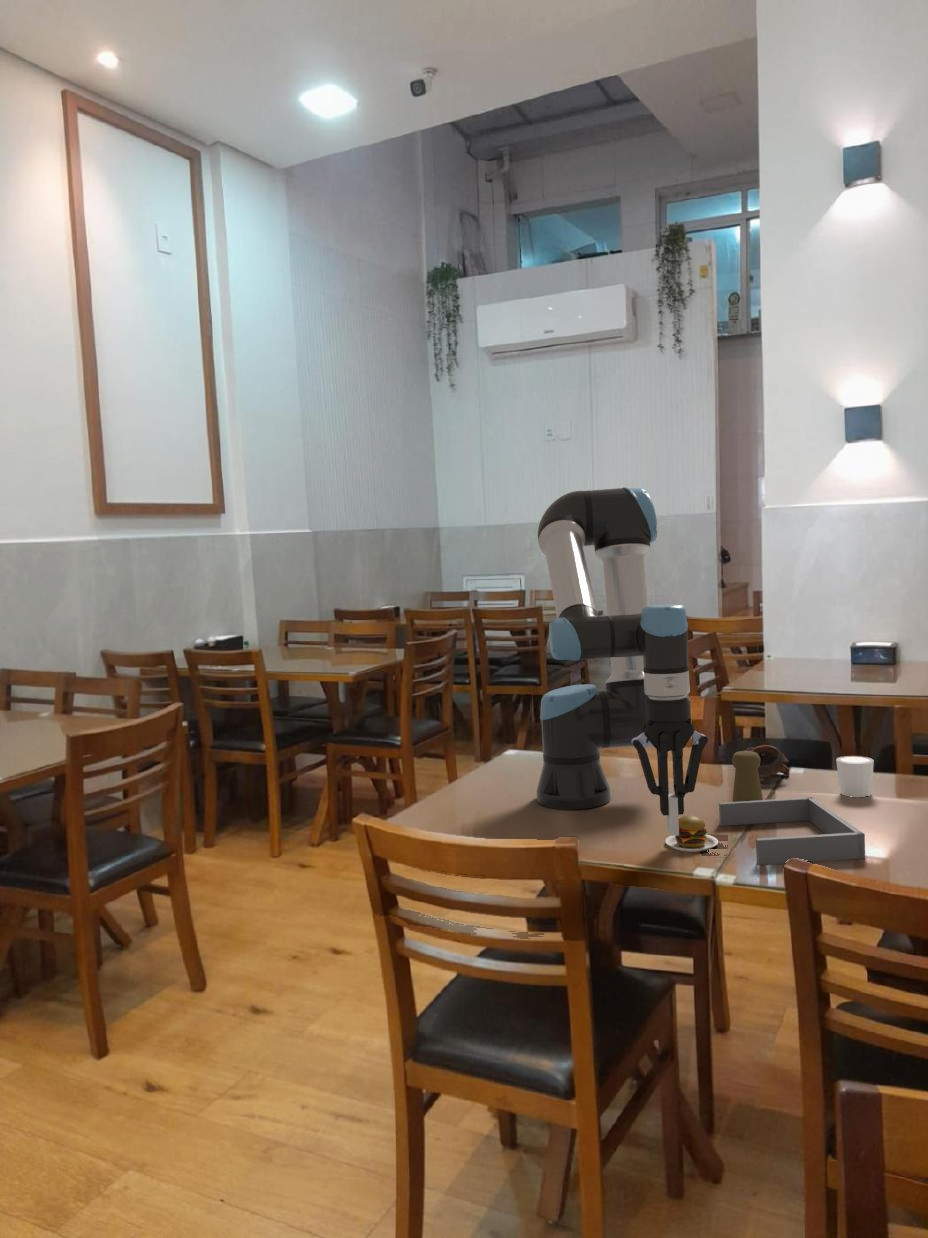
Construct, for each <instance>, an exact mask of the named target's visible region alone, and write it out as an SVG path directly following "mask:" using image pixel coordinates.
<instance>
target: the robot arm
mask: <svg viewBox="0 0 928 1238" xmlns="http://www.w3.org/2000/svg"><path fill="white" fill-rule="evenodd" d="M655 510H656V509H655V506H654V502H653V500H652V498H651V496H650V494H649V492H648V491H647V490H646V489H644V488H640V487H634V488H633V487H626V486H625V487H624V486H623V487H621V488H620V487H619V488H609V489H606V488H605V489H594V490H590V489H589V490H575V491H571V492H568V493H566V494H563V495H561V496H560V497H558V498H557V499H556V500H554V501H553V502H552V503H551V504H550V505H549V506H548V507H547V509H546V510H545V511H544V513H543V515H542V517H541V519H540V521H539V523H538V528H537V540H538V541H537V542H538V545H539V549H540V551H541V552H542V553H543V554H544V556H545V557H546V558H545V559H546V564H547V568H548V569H547V570H548V575H549V581H550V586H551V587H550V588H551V591H552V597H553V603H554V608H555V613H556V618H554V619H551V620H550V621H549V625H548V638H549V647H550V649H549V650H550V654H551V656H552V658H553V659H555V660H559V661H579V660H593V659H595V660H596V659H607V658H610V662H611V663H610V665H611V674H610V676H609V677H608V678H607V680H606V681H605V684H604V685H605V690H601V691H599V690H598V688H597V686H596V685H595V684H590V683H586V684H573V685H567V686H563V687H559V688H555V689H552V690H551V691H548V692H547V693H545V694H544V695H543V696H542V698H541V699H540V715H539V718H540V721H541V737H542V738H541V739H542V741H541V742H542V755H543V760H542V761H543V766H542V769H541V773H540V776H539V779H538V783H537V787H536V801H537V803H538V804H539V805H541V806H543V807H545V808H546V807H547V808H549V809H550V808H551V809H556V810H557V809H558V810H583V809H585V810H586V809H592V808H597V807H601V806H603V805H606V804H607V803H609V802H610V801H611V797H612V796H611V787H610V784H609V781H608V780H607V776H606V773H605V771H604V768H603V766H602V765H603V764H602V763H601V753H600V750H601V749H609V748H612V749H613V748H625V747H626V748H629V747H633V748H635V750H636V751H637V755H638V758H639V762H640V765H641V768H642V771H643V775H644V778H645V781H646V786H647V788H648V791H650V793H651V794H652V795H655V796H656V795H657V796H659V810H660V813H661V815H662V816H666V831H667V833H668V834H669V836H677V835H679V820H678V819H679V816H680V815H684V814H685V804H684V803H685V802H684V801H685V800H684V797H685V796H686V795H687V794H688V793H689V794H690V793H693V792H694V791H695V789H696V784H697V780H698V779H697V778H698V773H699V769H700V764H701V760H702V755H703V754H702V753H703V750H704V748H705V747H706V745H707V743H708V741H709V738H708V737H707V736H706V735H705V734H703V733H700V732H698V731H696V730H695V729H696V728H695V727H694V725H693V723H692V713H691V712H692V711H691V707H692V706H691V698H690V697H689V696H687V695H689V694H690V693H691V686H690V671H689V670H690V667H689V641H688V640H689V639H688V635H689V633H688V629H689V622H688V619H687V610H686V607H685V606H684V605H682V604H674V603H673V604H672V603H671V604H667V603H666V604H654V605H653V604H651V605H649V601H648V600H649V599H648V598H649V597H648V589H647V579H646V578H647V577H646V568H645V567H646V565H645V557H646V555H647V554H648V553H649V552H650V551H651V543H653V542H655V541H656V540H657V537H658V519H657V514H656V511H655ZM588 546H589V547H590V546H593V549H594V555H595V556H596V557H597V558H598V559H600V560H601V561H602V564H603V566H602V567H603V575H604V576H603V579H604V591H605V602H606V603H605V604H606V615H599V610H598V608H597V604H596V600H595V595H594V590H593V586H592V582H591V578H590V574H589V569H588V565H587V561H586V556H585V552H584V547H588ZM690 740H691V743H692V746H691V750H690V754H689V759H688V765H687V769H686V774H685V779H684V764H683V763H684V761H683V757H684V748H685V747H686V745H687V744H688V743H689V741H690ZM647 746H653V747H654V748H655V750H656V755H657V757H656V758H657V776H658V777H657V780H658V785H657V782H656V778H655V776H654V773H653V769H652V766H651V762H650V759H649V756H648V752H647V750H646V748H647ZM669 752H671V755H672V756H671V757H672V776H673V781H672V782H673V793H669V791H670V790H669V789H670V788H669V768H668V767H669V766H668V757H669V755H668V753H669Z"/></svg>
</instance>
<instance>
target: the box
mask: <svg viewBox="0 0 928 1238" xmlns="http://www.w3.org/2000/svg"><path fill="white" fill-rule="evenodd" d="M718 812H719V813H718V815H719V826H721V827H724V826H740V825H741V826H743V825H758V824H759V825H760V824H773V823H776V824H777V823H789V822H790V823H791V822H803V821H804V822H805V821H809V822H810V823H812V824H813V825H814V826H816V827H817V828H819V830H821V831H822V832H823V833H824V834H823V833H822V834H808V835H794V836H793V835H791V836H778V837H777V836H776V837H775V836H773V837H762V838H761V837H760V838H759V837H758V838H755V847H756V848H755V849H756V864H757V865H758V866H765V865H766V866H768V865H781V864H782V865H783V864H786V863H785V862H786V861H787V860H788V859H791V858H799V859H804V860H808V861H811V862H810V863H813V862H814V863H815V862H828V861H829V862H832V861H847V860H864V859H866V844H865V843H866V842H865V839H866V838H865V837H866V836H865V833H864V832H863V831H861V830H860V829H858V828H857V827H855V826H854V825H852V824H851V823H849V822H848V821H846V819H844V818H842V817H841V816H839V815H838V814H837V813H835V812H834V811H833V810H831V809H830V808H828V807H827V806H825V804H824V805H823V804H822V803H821V802H820V801H818V800H817V799H815V798H814V797H812V796H809V797H792V798H790V797H789V798H776V799H774V798H772V799H763V800H757V801H740V802H732V801H726V802H724V801H723V802H718Z"/></svg>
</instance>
